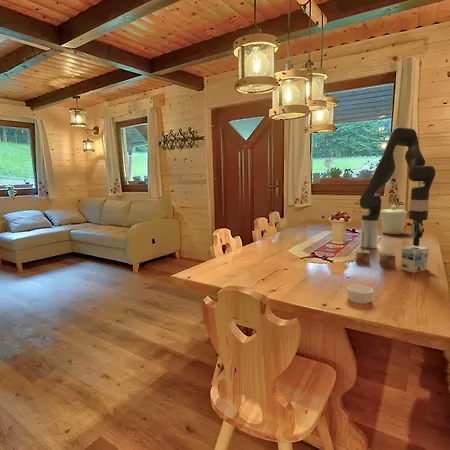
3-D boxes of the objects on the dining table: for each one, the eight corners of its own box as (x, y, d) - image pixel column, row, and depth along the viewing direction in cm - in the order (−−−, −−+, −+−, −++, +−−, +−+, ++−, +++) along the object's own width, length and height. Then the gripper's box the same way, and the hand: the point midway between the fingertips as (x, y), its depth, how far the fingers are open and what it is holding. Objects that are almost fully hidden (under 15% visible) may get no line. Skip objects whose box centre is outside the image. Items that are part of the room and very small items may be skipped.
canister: (373, 231, 244) (375, 204, 240) (395, 230, 246) (397, 204, 242) (388, 236, 226) (390, 207, 223) (411, 235, 228) (413, 206, 225)
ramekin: (346, 303, 114) (347, 291, 113) (346, 294, 122) (347, 283, 122) (373, 306, 111) (374, 294, 110) (371, 296, 119) (372, 286, 118)
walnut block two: (356, 263, 162) (357, 252, 161) (355, 260, 167) (356, 249, 166) (369, 264, 160) (370, 252, 159) (368, 261, 165) (368, 249, 164)
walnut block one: (381, 266, 155) (381, 254, 154) (379, 263, 161) (380, 251, 160) (394, 267, 154) (395, 255, 153) (392, 264, 159) (393, 252, 158)
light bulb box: (413, 273, 145) (415, 250, 143) (399, 269, 151) (401, 247, 149) (427, 269, 150) (429, 247, 148) (413, 266, 156) (415, 245, 154)
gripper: (406, 207, 153) (403, 242, 155) (413, 210, 140) (410, 248, 143) (423, 207, 150) (421, 243, 153) (432, 211, 138) (429, 249, 141)
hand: (415, 245), depth 148 cm, fingers closed
